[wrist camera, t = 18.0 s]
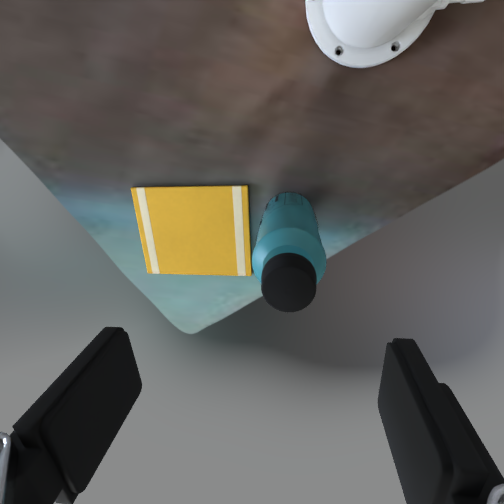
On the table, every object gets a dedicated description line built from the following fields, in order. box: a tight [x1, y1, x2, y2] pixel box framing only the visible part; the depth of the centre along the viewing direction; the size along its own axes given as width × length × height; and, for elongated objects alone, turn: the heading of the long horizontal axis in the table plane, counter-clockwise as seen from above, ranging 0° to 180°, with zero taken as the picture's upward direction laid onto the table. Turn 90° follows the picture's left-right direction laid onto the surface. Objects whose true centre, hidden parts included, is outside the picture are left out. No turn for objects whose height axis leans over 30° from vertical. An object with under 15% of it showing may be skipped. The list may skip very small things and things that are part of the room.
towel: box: [131, 185, 252, 276], centre depth 41 cm, size 16×13×1 cm
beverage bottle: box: [252, 192, 326, 312], centre depth 29 cm, size 6×7×20 cm
